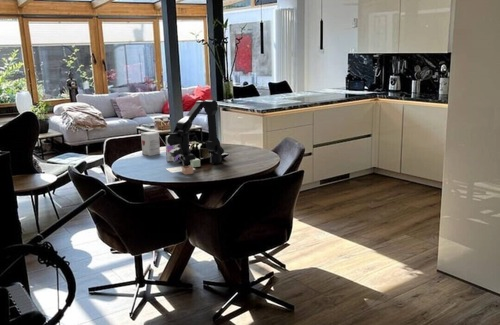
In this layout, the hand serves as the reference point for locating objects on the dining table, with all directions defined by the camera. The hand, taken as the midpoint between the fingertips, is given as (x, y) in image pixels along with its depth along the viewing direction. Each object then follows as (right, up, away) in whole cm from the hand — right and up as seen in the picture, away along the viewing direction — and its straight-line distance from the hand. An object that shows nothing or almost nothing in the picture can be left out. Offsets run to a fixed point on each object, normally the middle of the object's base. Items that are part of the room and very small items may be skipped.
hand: (185, 169), depth 273 cm
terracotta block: (+2, -2, -3) cm, 4 cm away
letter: (-4, 0, +6) cm, 7 cm away
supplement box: (-30, +10, +50) cm, 59 cm away
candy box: (-12, +6, +32) cm, 35 cm away
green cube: (+4, +1, +13) cm, 14 cm away
